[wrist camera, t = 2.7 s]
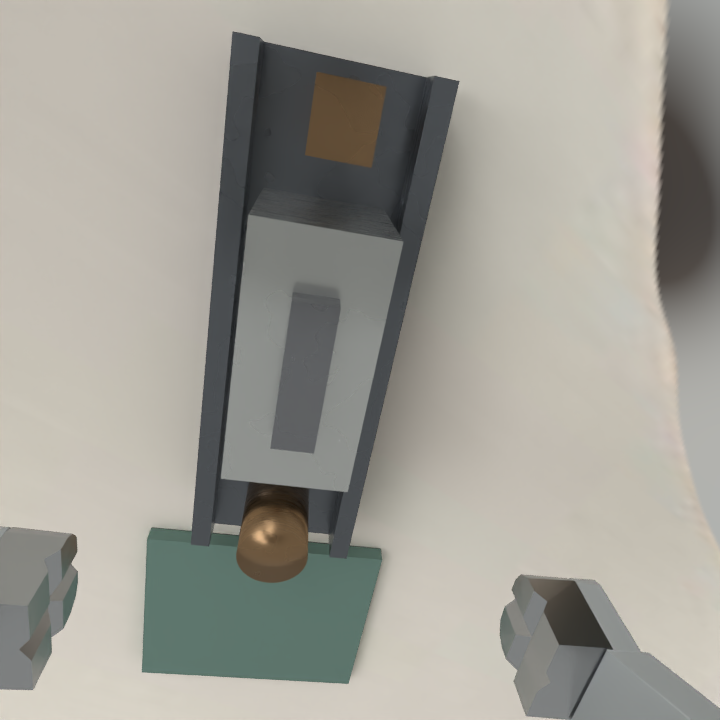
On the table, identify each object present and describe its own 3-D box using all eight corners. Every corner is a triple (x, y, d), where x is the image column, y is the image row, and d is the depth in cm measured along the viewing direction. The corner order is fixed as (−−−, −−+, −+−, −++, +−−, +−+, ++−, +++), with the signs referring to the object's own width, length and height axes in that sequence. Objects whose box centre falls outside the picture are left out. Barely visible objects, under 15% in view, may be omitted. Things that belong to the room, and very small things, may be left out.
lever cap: (263, 187, 20) (244, 220, 15) (384, 209, 20) (407, 248, 15) (239, 405, 23) (216, 493, 18) (341, 418, 24) (348, 507, 19)
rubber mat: (151, 527, 28) (147, 539, 28) (380, 548, 30) (381, 559, 29) (145, 659, 32) (141, 672, 32) (347, 671, 34) (348, 683, 33)
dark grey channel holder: (245, 41, 20) (213, 15, 13) (437, 83, 21) (491, 78, 14) (205, 493, 28) (172, 611, 21) (342, 507, 29) (350, 623, 22)
